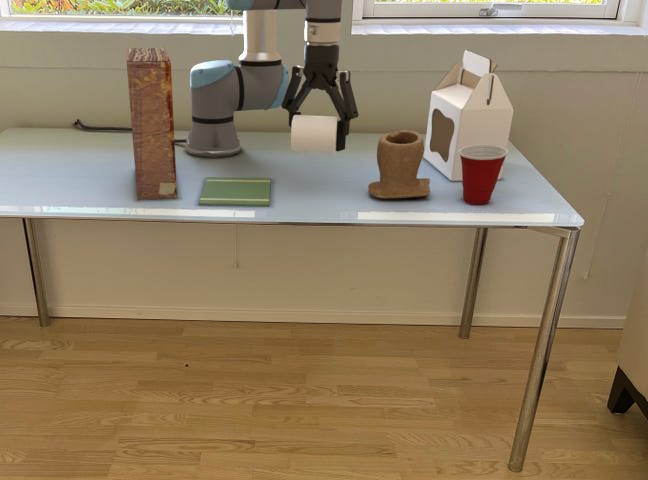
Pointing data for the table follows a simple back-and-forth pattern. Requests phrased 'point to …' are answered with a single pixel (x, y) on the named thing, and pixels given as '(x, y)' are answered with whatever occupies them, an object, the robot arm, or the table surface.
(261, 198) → the cloth
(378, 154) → the stone cup
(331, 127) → the mug
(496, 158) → the plastic cup
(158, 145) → the book
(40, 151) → the table surface
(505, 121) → the gable box
